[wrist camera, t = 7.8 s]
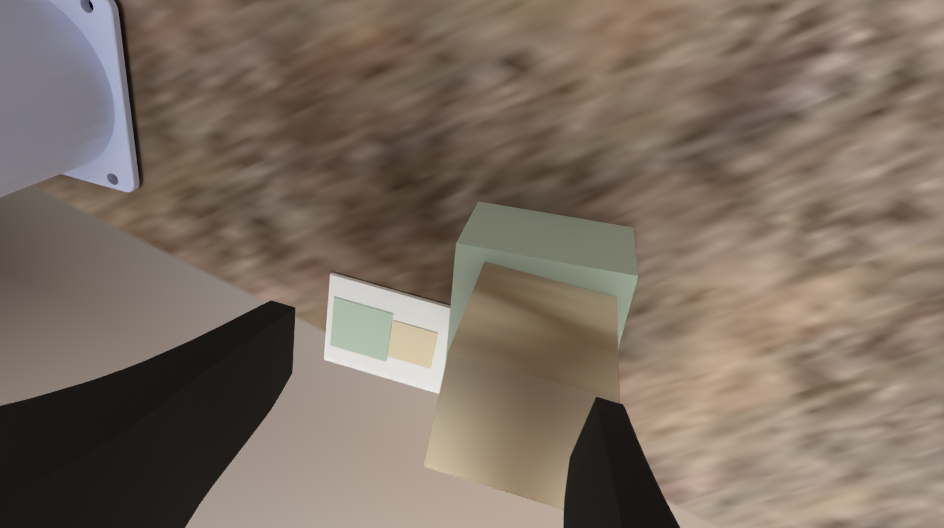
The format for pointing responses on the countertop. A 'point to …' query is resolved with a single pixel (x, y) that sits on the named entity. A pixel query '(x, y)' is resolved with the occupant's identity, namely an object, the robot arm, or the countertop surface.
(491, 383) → the maple block
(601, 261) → the sage base block
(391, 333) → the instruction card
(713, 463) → the countertop surface
